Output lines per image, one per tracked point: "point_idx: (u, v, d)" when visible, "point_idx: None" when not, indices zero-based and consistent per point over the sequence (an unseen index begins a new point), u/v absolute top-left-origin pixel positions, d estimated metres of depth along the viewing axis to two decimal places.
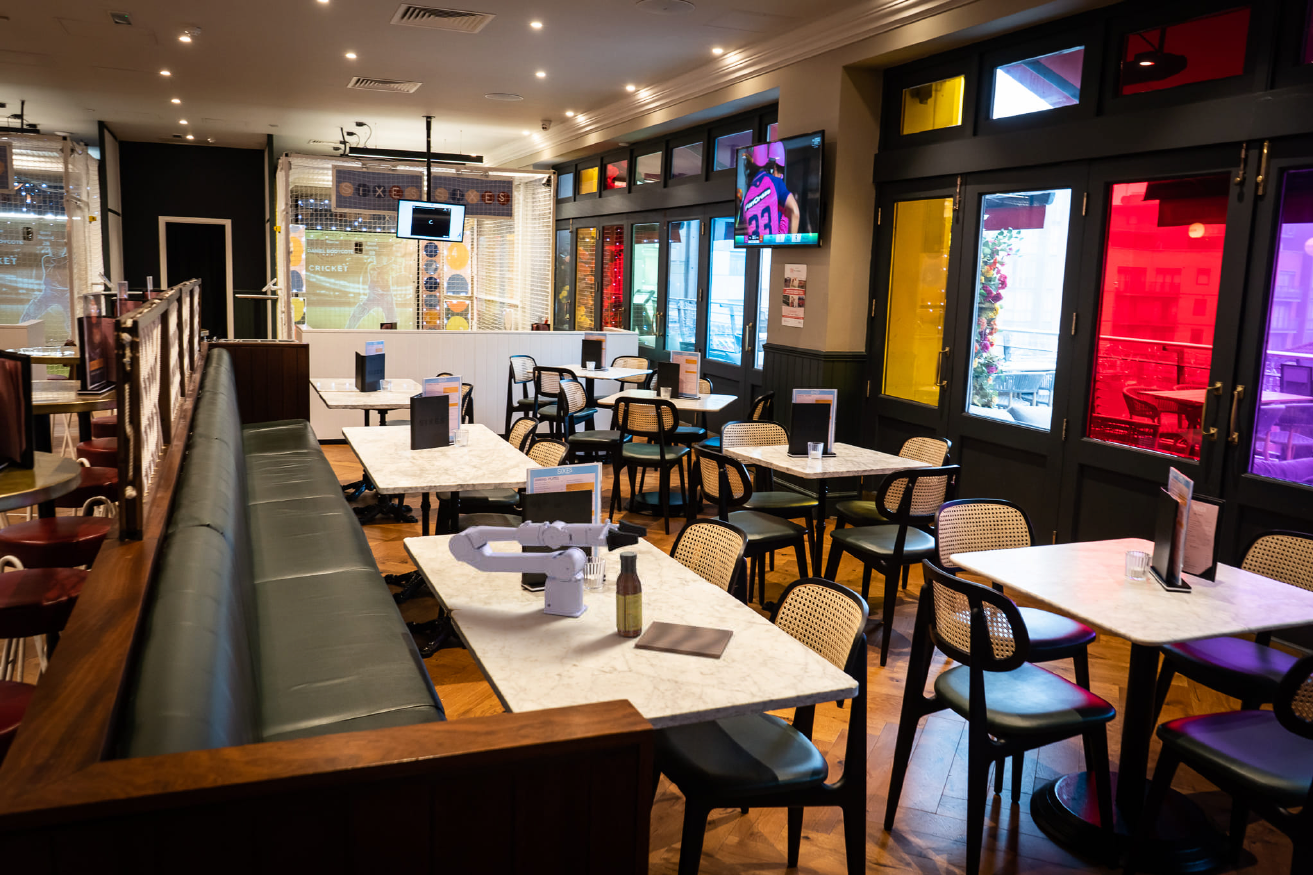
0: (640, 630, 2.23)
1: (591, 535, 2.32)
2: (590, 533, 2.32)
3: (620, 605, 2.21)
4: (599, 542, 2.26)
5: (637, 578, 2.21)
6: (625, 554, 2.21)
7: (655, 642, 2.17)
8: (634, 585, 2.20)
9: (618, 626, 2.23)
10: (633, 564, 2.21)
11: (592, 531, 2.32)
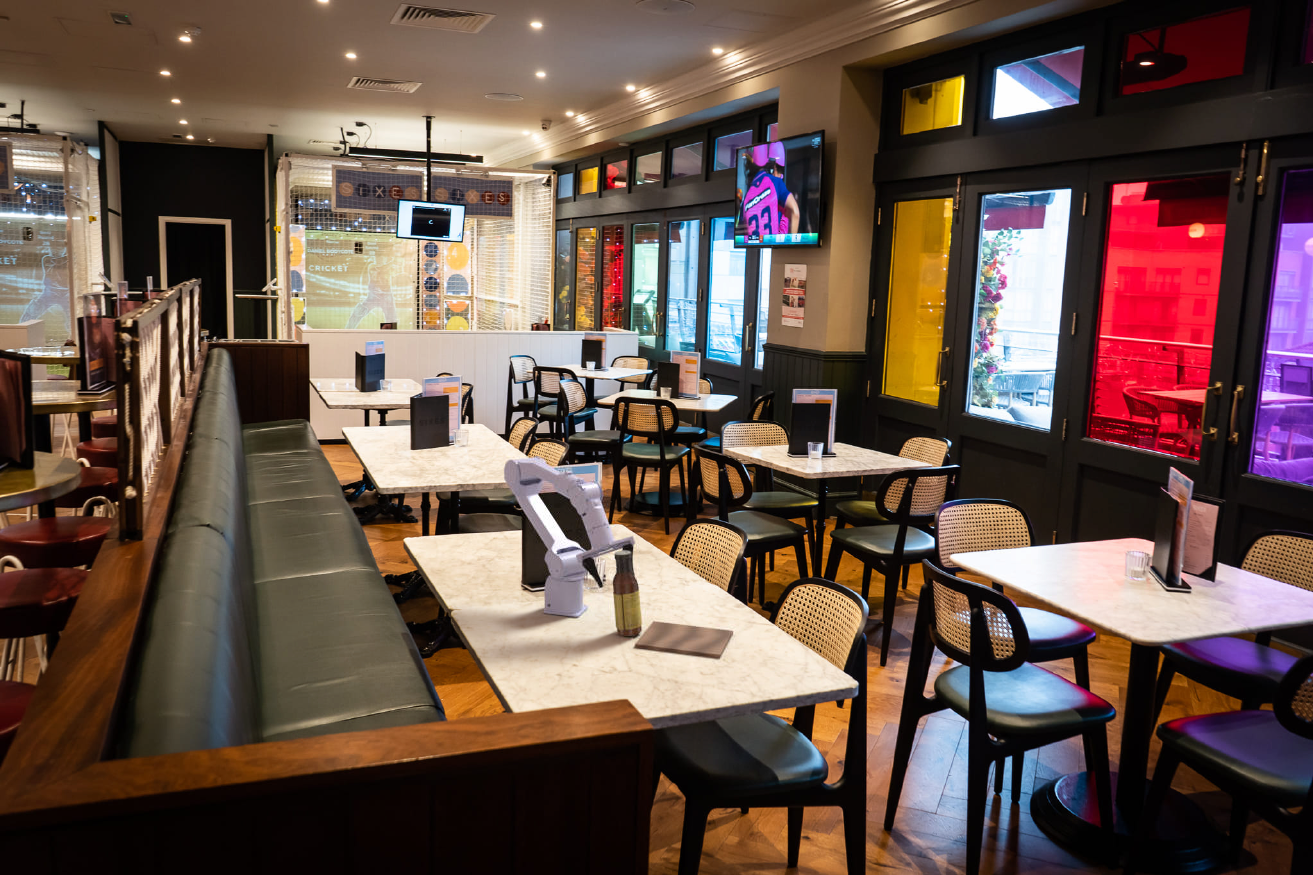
0: (640, 629, 2.23)
1: (589, 537, 2.26)
2: (589, 535, 2.26)
3: (618, 604, 2.21)
4: (576, 557, 2.25)
5: (633, 576, 2.22)
6: (619, 553, 2.21)
7: (655, 642, 2.17)
8: (631, 583, 2.21)
9: (617, 626, 2.23)
10: (628, 563, 2.21)
11: (591, 536, 2.26)
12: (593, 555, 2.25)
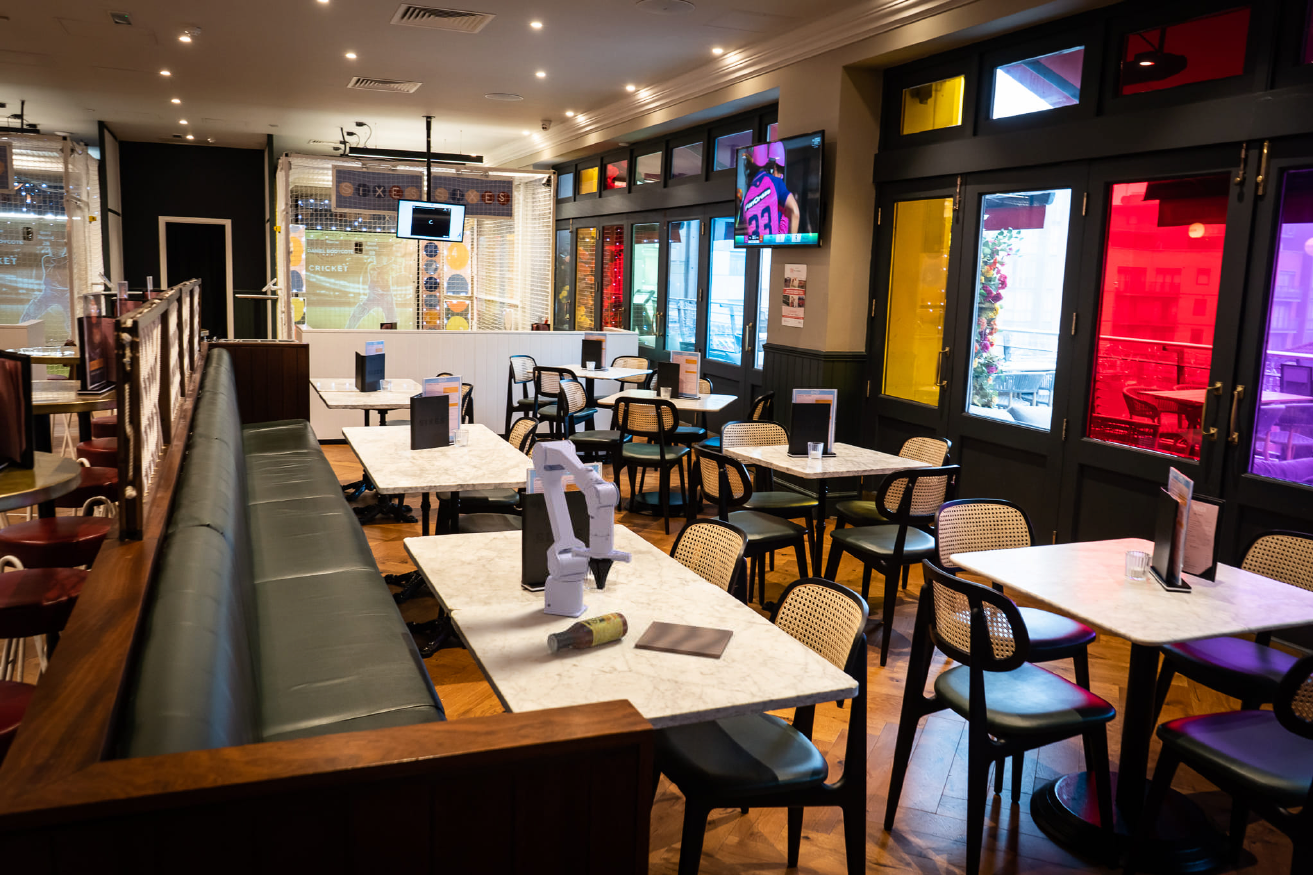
0: (624, 625, 2.19)
1: None
2: None
3: None
4: None
5: (579, 638, 2.11)
6: (552, 647, 2.09)
7: (655, 642, 2.17)
8: (584, 643, 2.12)
9: None
10: (565, 643, 2.09)
11: (590, 540, 2.22)
12: (587, 555, 2.24)
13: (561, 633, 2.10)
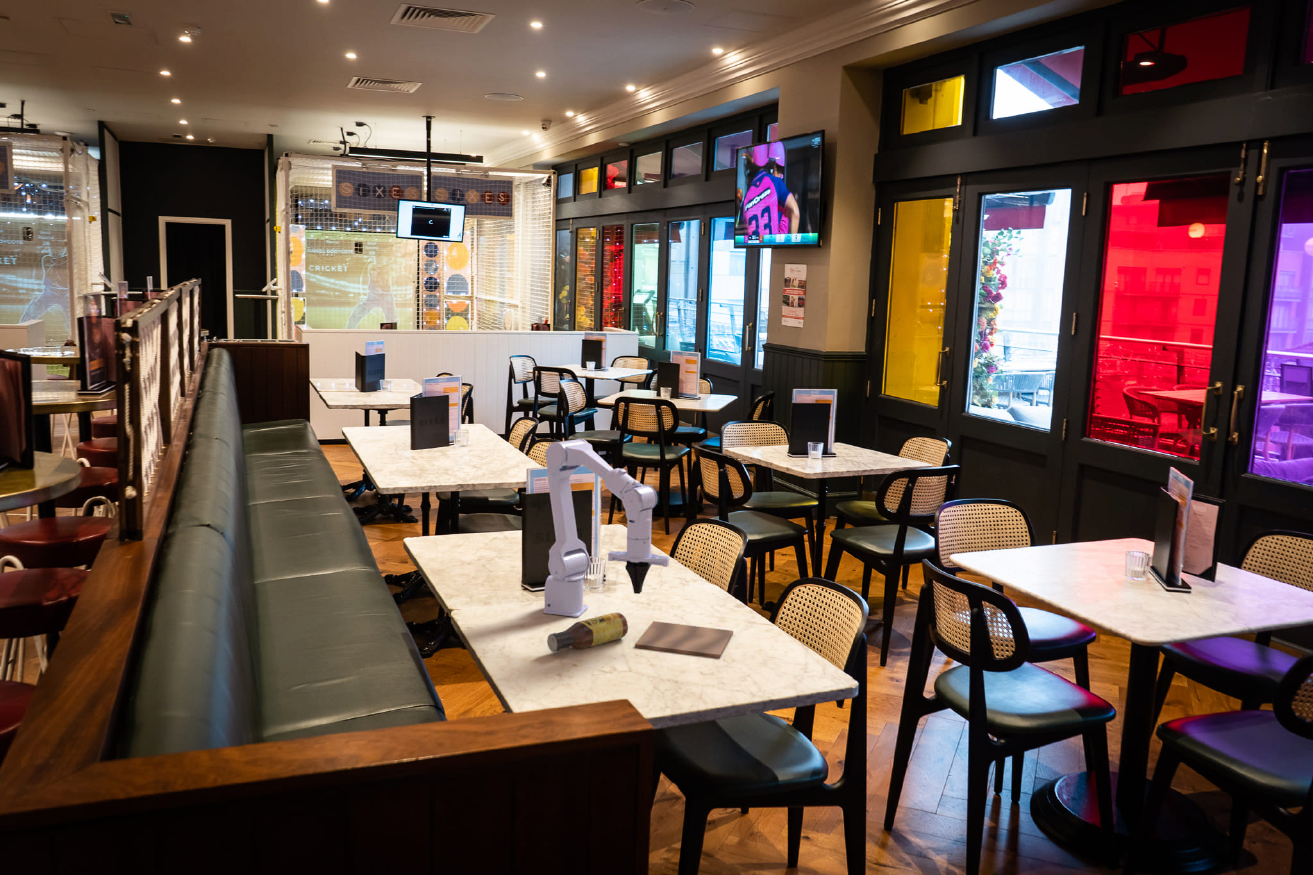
0: (624, 625, 2.19)
1: None
2: (627, 541, 2.20)
3: None
4: None
5: (579, 638, 2.11)
6: (552, 647, 2.09)
7: (655, 642, 2.17)
8: (584, 643, 2.12)
9: None
10: (565, 643, 2.09)
11: (627, 543, 2.20)
12: (624, 559, 2.22)
13: (561, 633, 2.10)
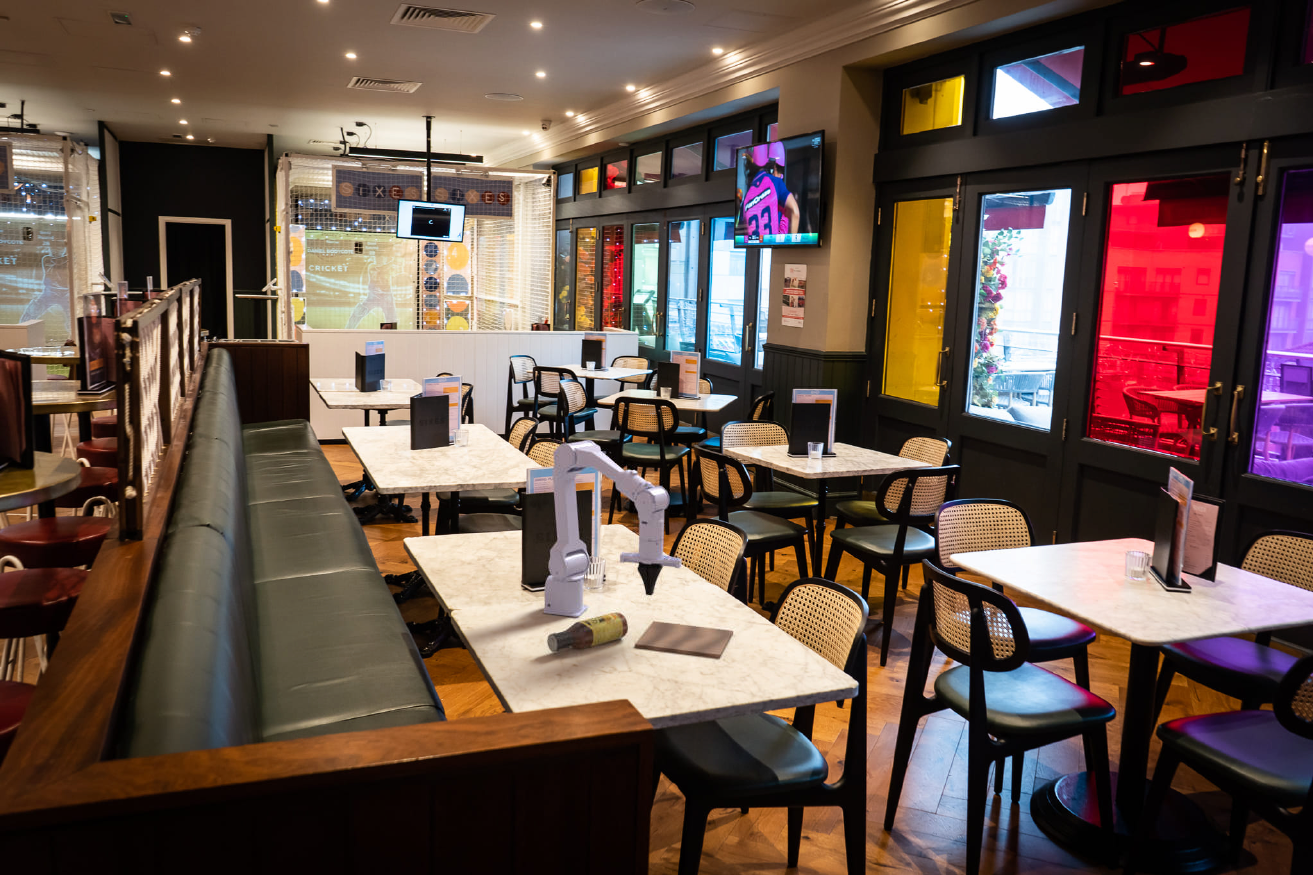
0: (624, 625, 2.19)
1: None
2: (639, 542, 2.20)
3: None
4: None
5: (579, 638, 2.11)
6: (552, 647, 2.09)
7: (655, 642, 2.17)
8: (584, 643, 2.12)
9: None
10: (565, 643, 2.09)
11: (639, 545, 2.19)
12: (636, 561, 2.21)
13: (561, 633, 2.10)
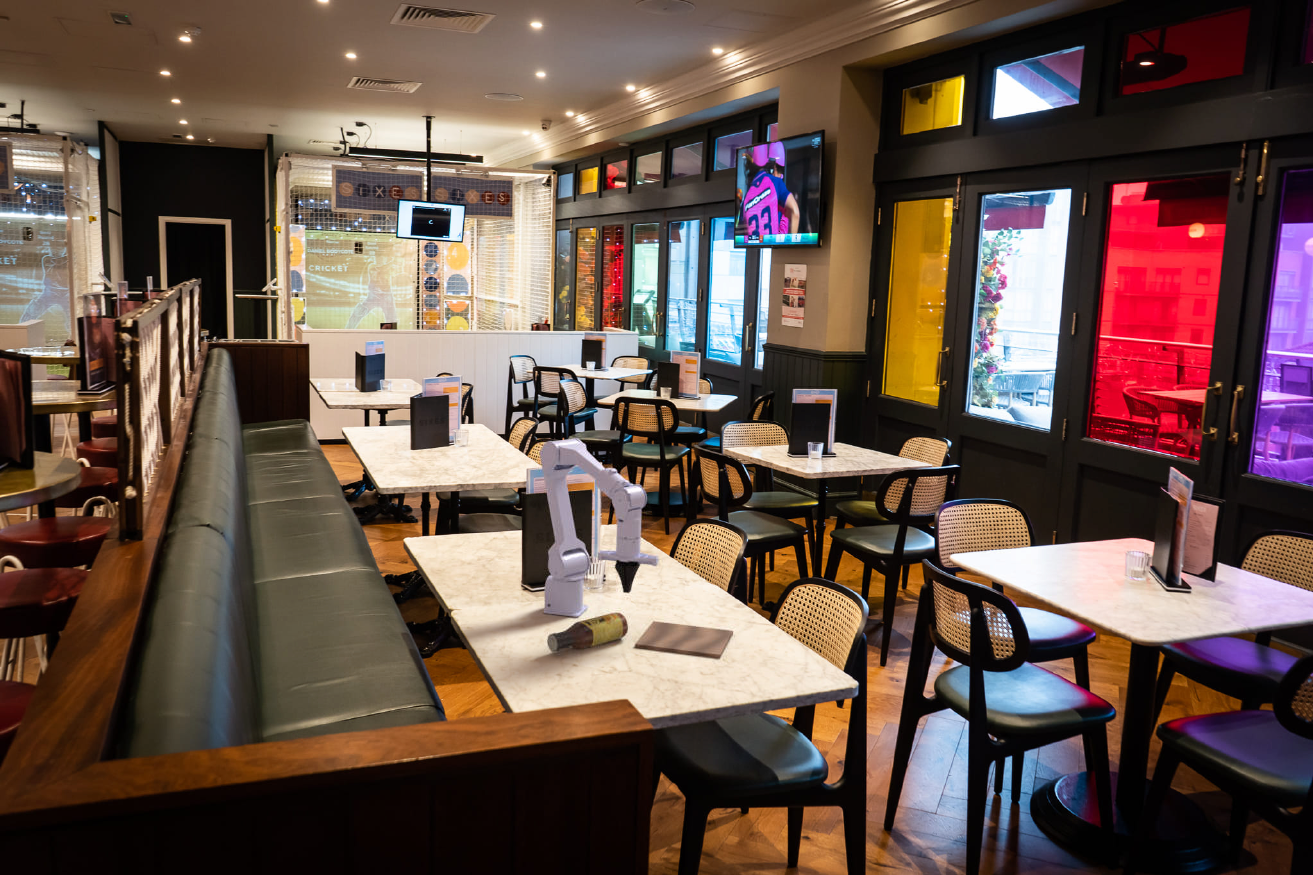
0: (624, 625, 2.19)
1: None
2: (616, 540, 2.21)
3: None
4: None
5: (579, 638, 2.11)
6: (552, 647, 2.09)
7: (655, 642, 2.17)
8: (584, 643, 2.12)
9: None
10: (565, 643, 2.09)
11: (616, 542, 2.21)
12: (614, 558, 2.23)
13: (561, 633, 2.10)
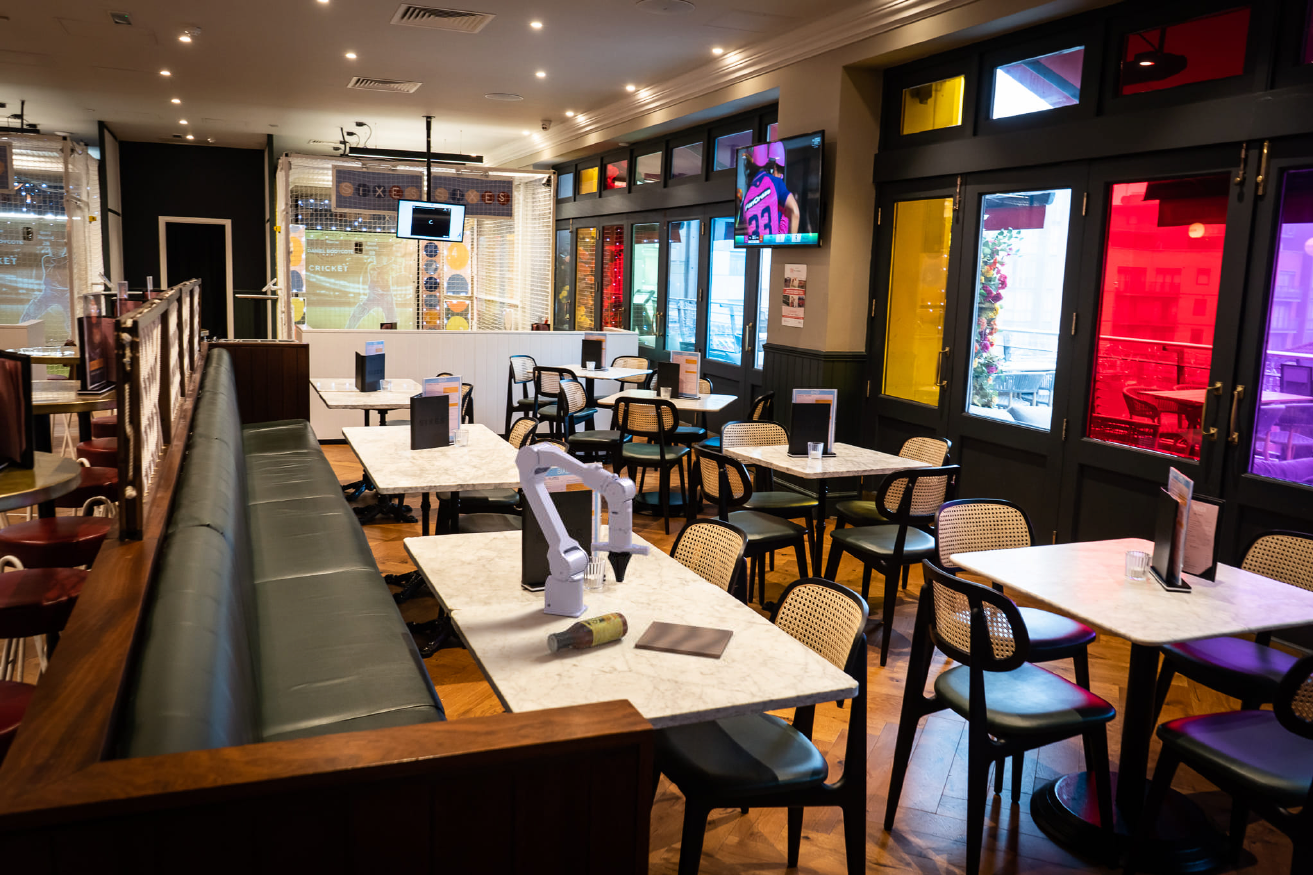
0: (624, 625, 2.19)
1: None
2: None
3: None
4: None
5: (579, 638, 2.11)
6: (552, 647, 2.09)
7: (655, 642, 2.17)
8: (584, 643, 2.12)
9: None
10: (565, 643, 2.09)
11: None
12: (606, 549, 2.30)
13: (561, 633, 2.10)
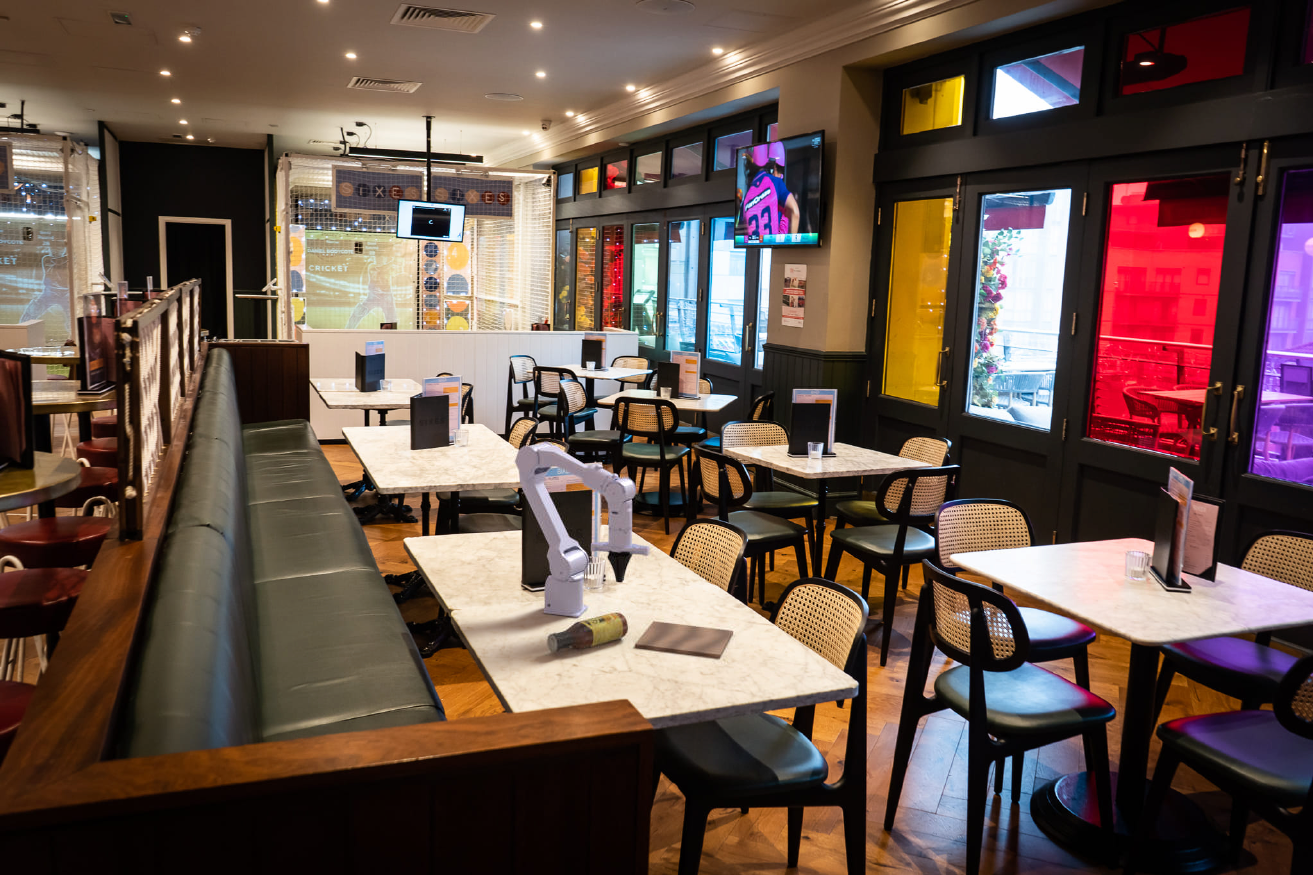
0: (624, 625, 2.19)
1: None
2: None
3: None
4: None
5: (579, 638, 2.11)
6: (552, 647, 2.09)
7: (655, 642, 2.17)
8: (584, 643, 2.12)
9: None
10: (565, 643, 2.09)
11: None
12: (606, 549, 2.30)
13: (561, 633, 2.10)
